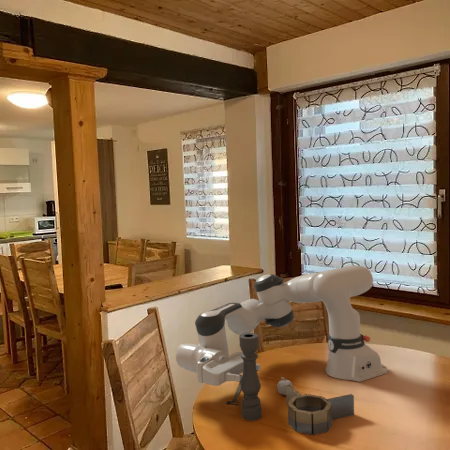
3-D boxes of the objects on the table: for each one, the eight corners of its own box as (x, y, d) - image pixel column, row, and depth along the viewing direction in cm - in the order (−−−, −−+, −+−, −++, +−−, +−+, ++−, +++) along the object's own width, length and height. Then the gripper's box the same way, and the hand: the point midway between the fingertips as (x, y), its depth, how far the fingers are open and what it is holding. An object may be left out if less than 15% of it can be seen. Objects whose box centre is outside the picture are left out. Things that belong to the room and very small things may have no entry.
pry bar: (246, 409, 149) (246, 406, 149) (225, 406, 151) (226, 402, 151) (257, 381, 170) (257, 378, 169) (239, 378, 171) (239, 375, 171)
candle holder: (255, 422, 138) (252, 340, 136) (237, 418, 142) (234, 337, 140) (265, 413, 144) (262, 334, 142) (247, 409, 147) (244, 331, 145)
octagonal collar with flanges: (327, 394, 155) (327, 376, 154) (364, 423, 136) (364, 403, 135) (271, 406, 148) (270, 387, 148) (301, 437, 129) (300, 416, 129)
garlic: (275, 390, 160) (274, 375, 159) (290, 389, 160) (290, 374, 160) (278, 398, 154) (278, 382, 154) (295, 396, 154) (294, 381, 154)
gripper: (235, 363, 158) (270, 372, 150) (194, 384, 143) (230, 395, 134) (235, 344, 158) (269, 352, 149) (193, 364, 142) (229, 374, 133)
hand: (250, 373), depth 141 cm, fingers open, 8 cm apart
